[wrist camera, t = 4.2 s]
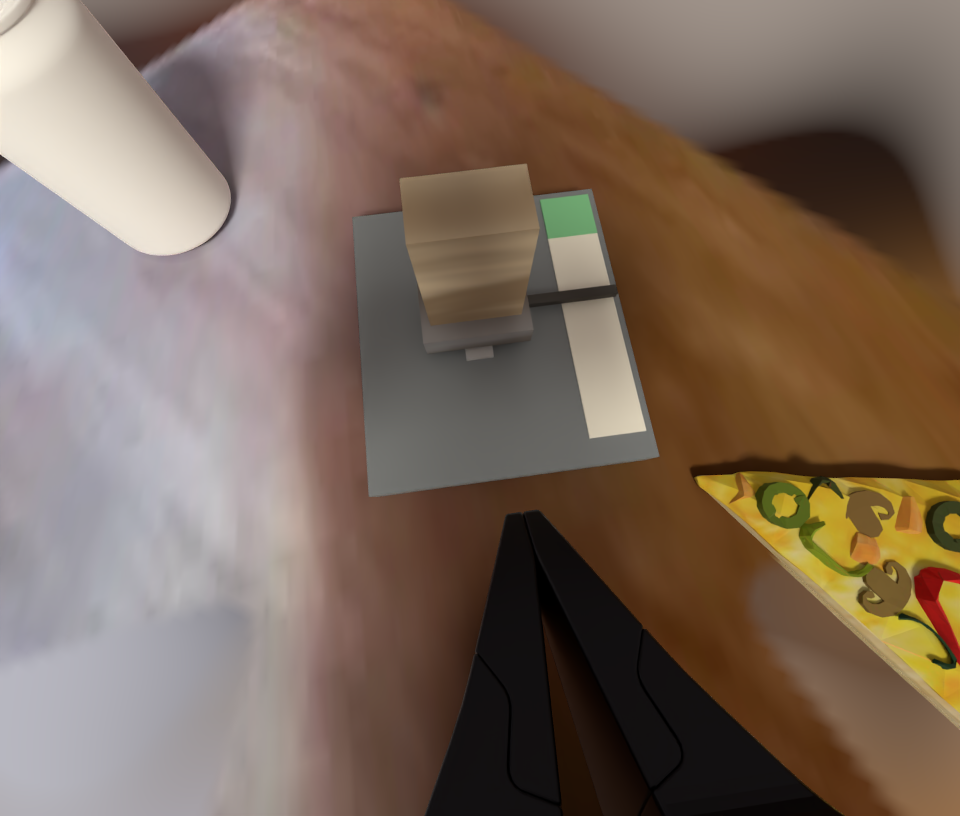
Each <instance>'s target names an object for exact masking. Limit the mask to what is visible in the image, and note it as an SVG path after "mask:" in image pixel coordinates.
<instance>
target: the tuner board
mask: <svg viewBox="0 0 960 816" xmlns="http://www.w3.org/2000/svg"><path fill="white" fill-rule="evenodd" d="M533 198H534V202H535V207H536V212H537V217H538V222H539V227H540V230H539V235H538V239H537V244H536V249H535V253H534V258H533V263H532V267H531V272H530V277H529V282H528V286H527V295H534V294H542V293H550V292H558V291H566V290H574V289H582V288H589V287H597V286H605V285H613V284H616V283H615V279H614V275H613V271H612V267H611V263H610V260H609V256H608V252H607V248H606V244H605V240H604V236H603V232H602V228H601V224H600V220H599V216H598V212H597V208H596V204H595V200H594V196H593V192H592V189H587V190H578V191H570V192H561V193H553V194H544V195H536V196H533ZM352 219H353V236H354V253H355V270H356V287H357V304H358V321H359V338H360V355H361V372H362V389H363V406H364V423H365V440H366V457H367V474H368V491H369V497H380V496H387V495H394V494H401V493H409V492H416V491H423V490H430V489H438V488H445V487H452V486H460V485H467V484H474V483H481V482H489V481H496V480H503V479H510V478H518V477H525V476H532V475H539V474H547V473H554V472H561V471H568V470H576V469H583V468H590V467H597V466H605V465H612V464H619V463H626V462H634V461H641V460H646V459H651V458H655V457H659V453H658V449H657V445H656V441H655V437H654V433H653V429H652V425H651V421H650V417H649V414H648V410H647V406H646V402H645V398H644V394H643V390H642V386H641V382H640V378H639V374H638V370H637V366H636V362H635V358H634V354H633V350H632V346H631V342H630V339H629V335H628V331H627V327H626V323H625V319H624V315H623V311H622V307H621V303H620V299H619V295H618V294H617V295H616V297H610V298H602V299H594V300H586V301H578V302H570V303H562V304H554V305H546V306H539V307H531V308H530V313H531V318H532V324H533V329H534V330H533V334H532V337H531V340H530V341H524V342H516V343H508V344H501V345H493V346H485V347H477V348H469V349H462V350H454V351H446V352H438V353H430V354H427V352H426V349H425V347H424V344H423V336H422V326H421V317H420V307H419V298H418V288H417V279H416V276H415V273H414V270H413V266H412V263H411V260H410V257H409V253H408V250H407V247H406V241H405V231H404V221H403V211H401V212H393V213H384V214H376V215H367V216H359V217H352Z"/></svg>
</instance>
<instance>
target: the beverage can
mask: <svg viewBox="0 0 960 816" xmlns="http://www.w3.org/2000/svg"><path fill="white" fill-rule="evenodd" d="M0 154H1V155H2V156H3V157H5V158H6V159H8V160H9V161H10V162H12V163H13V164H15V165H16V166H17V167H19V168H20V169H22V170H23V171H24V172H26V173H27V174H29V175H30V176H32V177H33V178H34V179H36V180H37V181H39V182H40V183H41V184H43V185H44V186H46V187H47V188H48V189H50V190H51V191H53V192H54V193H56V194H57V195H58V196H60V197H61V198H63V199H64V200H65V201H67V202H68V203H70V204H71V205H72V206H74V207H75V208H77V209H78V210H80V211H81V212H82V213H84V214H85V215H87V216H88V217H89V218H91V219H92V220H94V221H95V222H96V223H98V224H99V225H101V226H102V227H104V228H105V229H106V230H108V231H109V232H111V233H112V234H113V235H115V236H116V237H118V238H119V239H121V240H122V241H123V242H125V243H126V244H128V245H129V246H131V247H132V248H134V249H136V250H138V251H140V252H143V253H146V254H151V255H159V256H166V255H175V254H180V253H183V252H186V251H189V250H192V249H194V248H196V247H198V246H200V245H201V244H203V243H205V242H206V241H207V240H209V239H210V238H211V237H212V236H213V235H214V234H215V233H216V232H217V231H218V230H219V229H220V228H221V226H222V225H223V223H224V222H225V220H226V218H227V215H228V213H229V209H230V205H231V193H230V189H229V186H228V183H227V181H226V179H225V178H224V176H223V175H222V174H221V173H220V171H219V170H218V169H217V168H216V166H215V165H214V164H213V163H212V162H211V160H210V159H209V158H208V157H207V155H206V154H205V153H204V152H203V150H202V149H201V148H200V147H199V145H198V144H197V143H196V142H195V141H194V139H193V138H192V137H191V136H190V134H189V133H188V132H187V131H186V129H185V128H184V127H183V126H182V125H181V123H180V122H179V121H178V120H177V118H176V117H175V116H174V115H173V113H172V112H171V111H170V110H169V109H168V107H167V106H166V105H165V104H164V102H163V101H162V100H161V99H160V97H159V96H158V95H157V94H156V92H155V91H154V90H153V89H152V88H151V86H150V85H149V84H148V83H147V81H146V80H145V79H144V78H143V76H142V75H141V74H140V73H139V72H138V70H137V69H136V68H135V67H134V65H133V64H132V63H131V62H130V61H129V59H128V58H127V57H126V56H125V55H124V53H123V52H122V51H121V49H120V48H119V47H118V46H117V44H116V43H115V42H114V41H113V40H112V38H111V37H110V36H109V35H108V33H107V32H106V31H105V30H104V28H103V27H102V26H101V25H100V23H99V22H98V21H97V20H96V19H95V17H94V16H93V15H92V14H91V12H90V11H89V10H88V9H87V8H86V6H85V5H84V4H83V3H82V1H81V0H0Z"/></svg>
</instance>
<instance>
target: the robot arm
mask: <svg viewBox="0 0 960 816" xmlns="http://www.w3.org/2000/svg"><path fill="white" fill-rule="evenodd" d="M542 622H543V625H544V629H545V632H546V635H547V638H548V641H549V645H550V648H551V651H552V654H553V657H554V660H555V664H556V667H557V670H558V673H559V676H560V679H561V683H562V686H563V689H564V692H565V695H566V699H567V702H568V705H569V708H570V711H571V714H572V718H573V721H574V724H575V727H576V730H577V734H578V737H579V740H580V743H581V746H582V749H583V753H584V756H585V759H586V762H587V765H588V769H589V772H590V775H591V778H592V781H593V784H594V788H595V791H596V794H597V797H598V800H599V804H600V807H601V810H602V813H603V816H845V815H843V814H842V813H841V812H839V811H838V810H836V809H835V808H834V807H832V806H831V805H830V804H828V803H827V802H826V801H825V800H823V799H822V798H821V797H819V796H818V795H817V794H816V793H815V792H813V791H812V790H811V789H810V788H809V787H807V786H806V785H805V784H804V783H803V782H802V781H800V780H799V779H798V778H797V777H796V776H795V775H794V774H793V773H792V772H791V771H790V770H788V769H787V768H786V767H785V766H784V765H783V764H782V763H781V762H780V761H779V760H778V759H777V758H776V757H775V756H774V755H772V754H771V753H770V752H769V751H768V750H767V749H766V748H765V747H764V746H763V745H762V744H761V743H760V742H759V741H758V740H757V739H755V738H754V737H753V736H752V735H751V734H750V733H749V732H748V731H747V730H746V729H745V728H744V727H743V726H742V725H741V724H740V723H738V722H737V721H736V720H735V719H734V718H733V717H732V716H731V715H730V714H729V713H728V712H727V711H726V710H725V709H724V708H723V707H721V706H720V705H719V704H718V703H717V702H716V701H715V700H714V699H713V698H712V697H711V696H710V695H709V694H708V693H707V692H706V691H705V690H704V689H703V688H702V687H701V686H700V685H699V684H698V683H697V682H696V681H695V680H693V679H692V678H691V677H690V676H689V675H688V674H687V673H686V672H685V671H684V670H683V669H682V668H681V666H680V665H679V664H678V663H677V662H676V661H675V660H674V659H673V658H672V657H671V656H670V655H669V654H668V653H667V652H666V650H665V649H664V648H663V647H662V646H661V645H660V644H659V643H658V642H657V641H656V640H655V638H654V637H653V636H652V635H651V634H650V633H649V632H648V631H647V629H643V625H642V624H641V623H640V622H639V621H638V620H637V618H636V617H635V616H634V615H633V614H632V613H631V612H630V611H629V610H628V608H627V607H626V606H625V605H624V604H623V603H622V602H621V601H620V599H619V598H618V597H617V596H616V595H615V594H614V593H613V592H612V591H611V589H610V588H609V587H608V586H607V585H606V584H605V583H604V582H603V580H602V579H601V578H600V577H599V576H598V575H597V574H596V573H595V572H594V570H593V569H592V568H591V567H590V566H589V565H588V564H587V563H586V561H585V560H584V559H583V558H582V557H581V556H580V555H579V554H578V553H577V551H576V550H575V549H574V548H573V547H572V546H571V545H570V544H569V542H568V541H567V540H566V539H565V538H564V537H563V536H562V535H561V533H560V532H559V531H558V530H557V529H556V528H555V527H554V526H553V525H552V523H551V522H550V521H549V520H548V519H547V518H546V517H545V516H544V514H543V513H542V512H541V511H539V510H532V511H525V512H524V513H523V514H522V513H521V512H518V513H511V514H507V515H506V517H505V521H504V525H503V529H502V534H501V538H500V543H499V547H498V551H497V556H496V560H495V565H494V569H493V574H492V578H491V582H490V587H489V591H488V596H487V600H486V604H485V609H484V613H483V618H482V622H481V627H480V631H479V635H478V640H477V644H476V649H475V653H476V654H474V656H473V661H472V665H471V670H470V674H469V678H468V682H467V686H466V690H465V693H464V697H463V701H462V705H461V708H460V711H459V715H458V718H457V721H456V724H455V727H454V731H453V734H452V737H451V740H450V743H449V746H448V749H447V752H446V755H445V757H444V760H443V763H442V766H441V769H440V772H439V775H438V778H437V781H436V784H435V786H434V789H433V792H432V795H431V798H430V801H429V804H428V807H427V810H426V813H425V815H424V816H563V812H562V809H561V803H562V802H561V793H560V784H559V774H558V765H557V756H556V746H555V737H554V728H553V718H552V709H551V699H550V690H549V681H548V671H547V662H546V653H545V643H544V634H543V625H542Z"/></svg>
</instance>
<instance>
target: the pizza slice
mask: <svg viewBox="0 0 960 816" xmlns="http://www.w3.org/2000/svg"><path fill="white" fill-rule="evenodd" d="M694 479H695V481H696V483H697V485H698V486H699V487H701V488H702V489H703V490H705V491H706V492H707V493H708V494H709V495H711V496H712V497H713V498H714V499H715V500H716V501H717V502H718V503H719V504H720V505H721V506H722V507H723V508H724V509H726V510H727V511H728V512H729V513H730V514H731V515H732V516H733V517H734V518H735V519H736V520H737V521H738V522H740V523H741V524H742V525H743V526H744V527H745V528H746V529H747V530H748V531H749V532H750V533H751V534H752V535H753V536H755V537H756V538H757V539H758V540H759V541H760V542H761V543H762V544H763V545H764V546H765V547H766V548H767V549H768V550H770V551H771V552H772V553H773V554H774V555H775V556H776V557H777V558H778V559H779V560H780V561H779V562H778V563H779V564H780V565H781V566H782V567H783V568H784V569H785V570H787V571H788V572H789V573H790V574H791V575H792V576H793V577H794V578H795V579H797V581H799V582H800V583H801V584H802V585H803V586H804V587H805V588H806V589H807V590H808V591H809V592H810V593H811V594H813V595H814V596H815V597H816V598H817V599H818V600H819V601H820V602H821V603H822V604H823V605H824V606H825V607H827V609H828V610H830V611H831V612H832V613H833V614H834V615H835V616H836V617H837V618H838V619H839V620H840V621H841V622H842V623H843V624H844V625H845V626H847V627H848V628H849V629H850V630H851V631H852V632H853V633H854V634H855V635H856V636H858V637H859V638H860V639H861V640H862V641H863V642H864V643H865V644H866V645H867V646H868V647H869V648H870V649H872V650H873V651H874V652H875V653H876V654H877V655H878V656H879V657H880V658H881V659H883V660H884V661H885V662H886V663H887V664H888V665H889V666H890V667H891V668H893V670H895V671H896V672H897V673H898V674H899V675H900V676H901V677H902V678H903V679H904V680H905V681H907V682H908V683H909V684H910V685H911V686H912V687H913V688H914V689H915V690H917V691H918V692H919V693H920V694H921V695H922V696H923V697H924V698H925V699H927V701H929V702H930V703H931V704H932V705H933V706H934V707H935V708H936V709H937V710H938V711H939V712H941V713H942V714H943V715H944V716H945V717H946V718H947V719H949V721H950V722H951V723H953V724H954V725H955V726H956V727H957V728H958V729H959V730H960V480H949V481H934V480H918V479H895V478H858V477H845V478H827V477H822V476H819V477H809V476H798V475H791V474H784V473H777V472H757V471H747V472H737V473H735V474H732V475H700V476H697V477H695V478H694Z"/></svg>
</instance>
